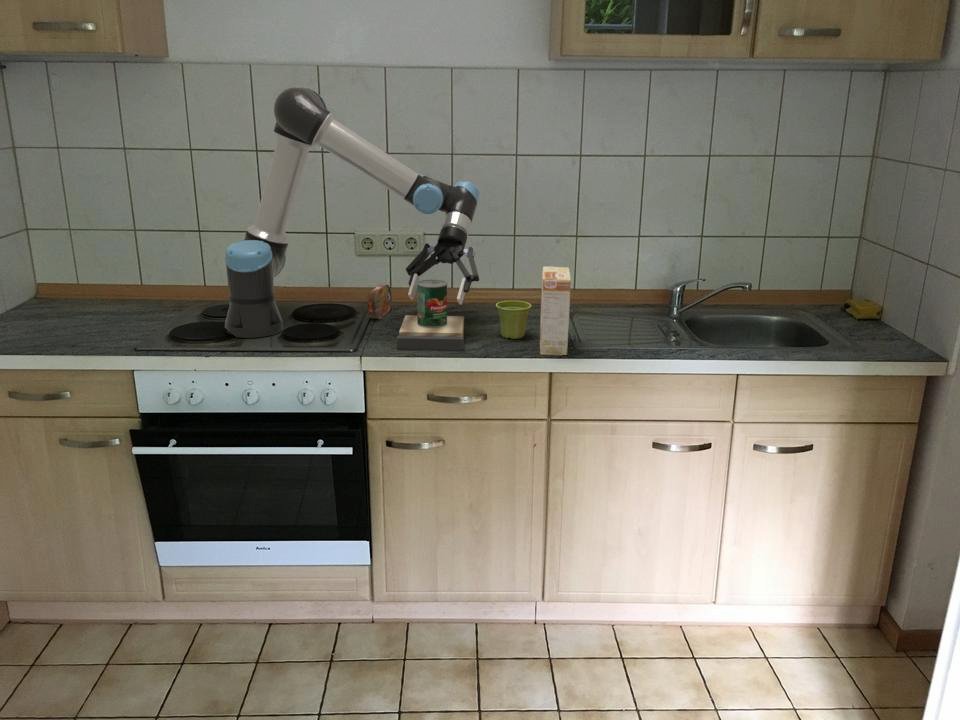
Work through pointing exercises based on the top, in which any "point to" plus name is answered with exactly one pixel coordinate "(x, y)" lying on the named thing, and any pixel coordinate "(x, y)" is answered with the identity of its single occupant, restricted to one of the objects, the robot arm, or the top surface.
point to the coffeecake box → (554, 310)
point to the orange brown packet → (379, 301)
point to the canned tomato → (432, 303)
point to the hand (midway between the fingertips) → (434, 299)
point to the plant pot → (513, 318)
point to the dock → (431, 335)
